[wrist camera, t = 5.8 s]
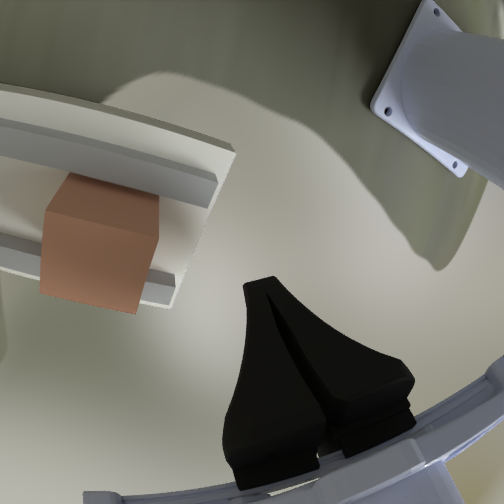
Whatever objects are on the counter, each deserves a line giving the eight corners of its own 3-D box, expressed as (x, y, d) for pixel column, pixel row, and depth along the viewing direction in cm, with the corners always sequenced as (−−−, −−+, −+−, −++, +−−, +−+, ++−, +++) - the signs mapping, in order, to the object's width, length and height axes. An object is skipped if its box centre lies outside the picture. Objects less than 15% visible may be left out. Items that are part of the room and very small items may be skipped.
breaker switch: (159, 194, 13) (159, 238, 10) (138, 261, 15) (135, 314, 12) (70, 171, 11) (45, 210, 9) (59, 242, 13) (39, 292, 10)
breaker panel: (230, 143, 14) (241, 161, 12) (169, 291, 18) (172, 322, 16) (-62, 76, 7) (-91, 85, 5) (-69, 230, 11) (-88, 254, 9)
